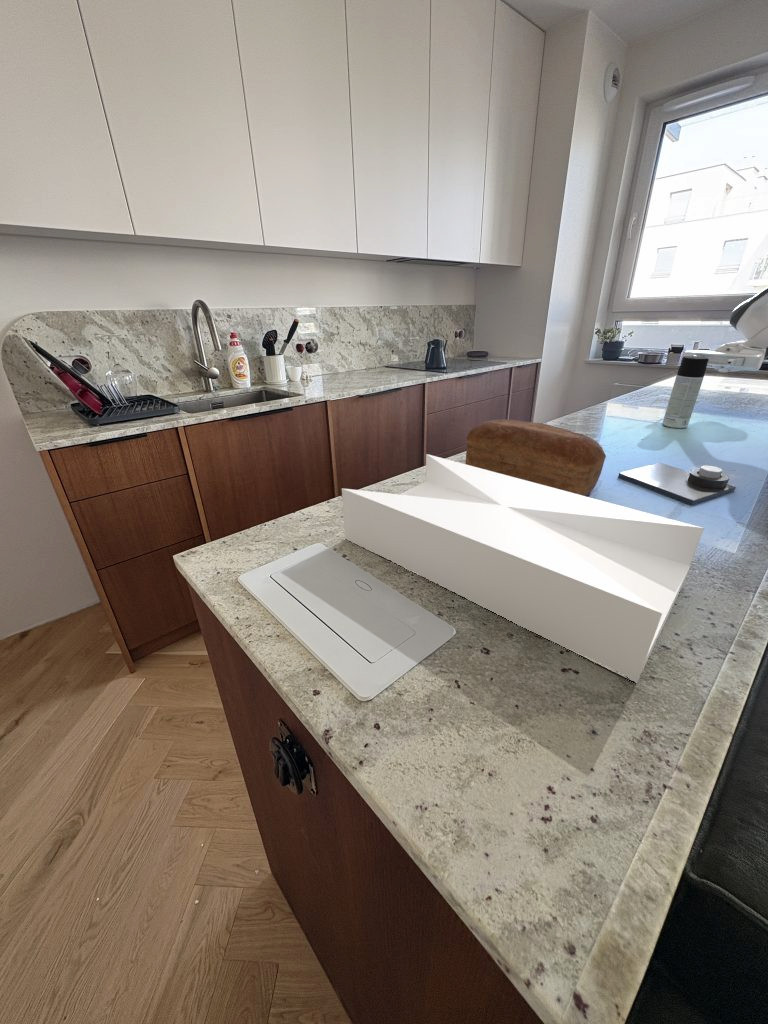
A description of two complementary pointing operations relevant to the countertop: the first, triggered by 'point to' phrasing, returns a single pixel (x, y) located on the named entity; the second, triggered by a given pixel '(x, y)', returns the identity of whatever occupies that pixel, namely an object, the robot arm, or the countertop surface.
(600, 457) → the bread
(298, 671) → the countertop surface
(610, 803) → the countertop surface
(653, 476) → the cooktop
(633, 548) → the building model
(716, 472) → the power button
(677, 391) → the spray can
